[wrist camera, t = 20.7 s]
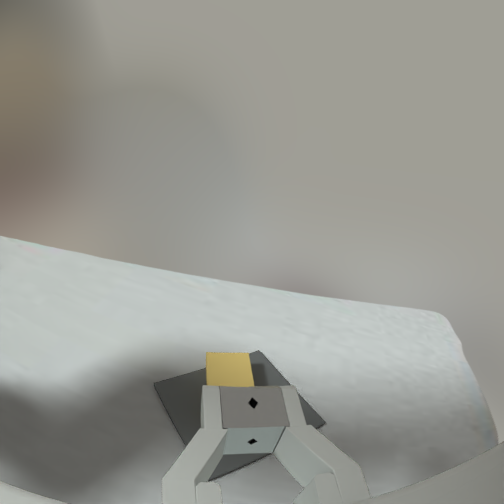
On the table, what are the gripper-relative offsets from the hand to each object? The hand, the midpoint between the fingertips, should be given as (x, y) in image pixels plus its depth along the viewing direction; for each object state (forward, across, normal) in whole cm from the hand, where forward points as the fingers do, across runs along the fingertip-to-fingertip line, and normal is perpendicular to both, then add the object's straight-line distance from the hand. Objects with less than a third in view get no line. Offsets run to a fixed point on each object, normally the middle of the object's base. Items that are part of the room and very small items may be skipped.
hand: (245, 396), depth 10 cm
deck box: (+12, -3, +21) cm, 24 cm away
